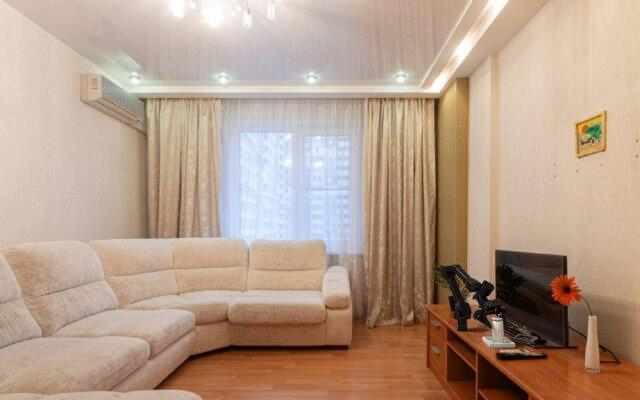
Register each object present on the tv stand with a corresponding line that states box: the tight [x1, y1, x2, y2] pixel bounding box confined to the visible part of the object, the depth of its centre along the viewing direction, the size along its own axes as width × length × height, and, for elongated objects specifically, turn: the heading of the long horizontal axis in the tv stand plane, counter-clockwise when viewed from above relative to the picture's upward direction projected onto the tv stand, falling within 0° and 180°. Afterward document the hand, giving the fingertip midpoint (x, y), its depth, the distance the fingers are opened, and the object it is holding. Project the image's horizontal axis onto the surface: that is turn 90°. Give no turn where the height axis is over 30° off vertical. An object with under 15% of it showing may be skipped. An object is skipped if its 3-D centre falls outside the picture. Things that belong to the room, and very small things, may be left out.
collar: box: [511, 333, 539, 345], centre depth 200 cm, size 9×9×2 cm
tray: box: [482, 336, 516, 349], centre depth 197 cm, size 12×12×2 cm
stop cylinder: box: [490, 316, 505, 343], centre depth 197 cm, size 6×6×12 cm
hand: (499, 327), depth 196 cm, fingers open, 9 cm apart
